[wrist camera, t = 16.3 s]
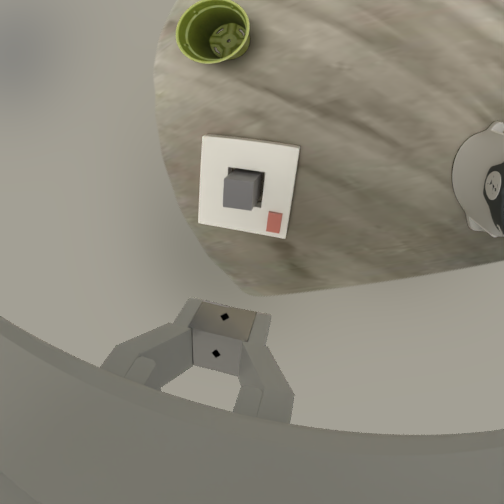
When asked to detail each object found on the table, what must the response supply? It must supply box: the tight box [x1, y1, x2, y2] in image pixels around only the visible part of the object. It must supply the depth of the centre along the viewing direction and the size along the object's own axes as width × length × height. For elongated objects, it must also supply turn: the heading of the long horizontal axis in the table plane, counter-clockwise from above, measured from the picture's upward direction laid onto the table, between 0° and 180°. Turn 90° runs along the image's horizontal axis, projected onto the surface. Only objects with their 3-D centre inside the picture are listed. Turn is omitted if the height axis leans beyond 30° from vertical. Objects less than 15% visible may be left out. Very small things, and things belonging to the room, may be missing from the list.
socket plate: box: [198, 134, 300, 239], centre depth 46 cm, size 14×14×3 cm
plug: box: [223, 168, 263, 211], centre depth 44 cm, size 4×4×7 cm
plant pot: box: [176, 0, 250, 64], centre depth 33 cm, size 9×9×9 cm
